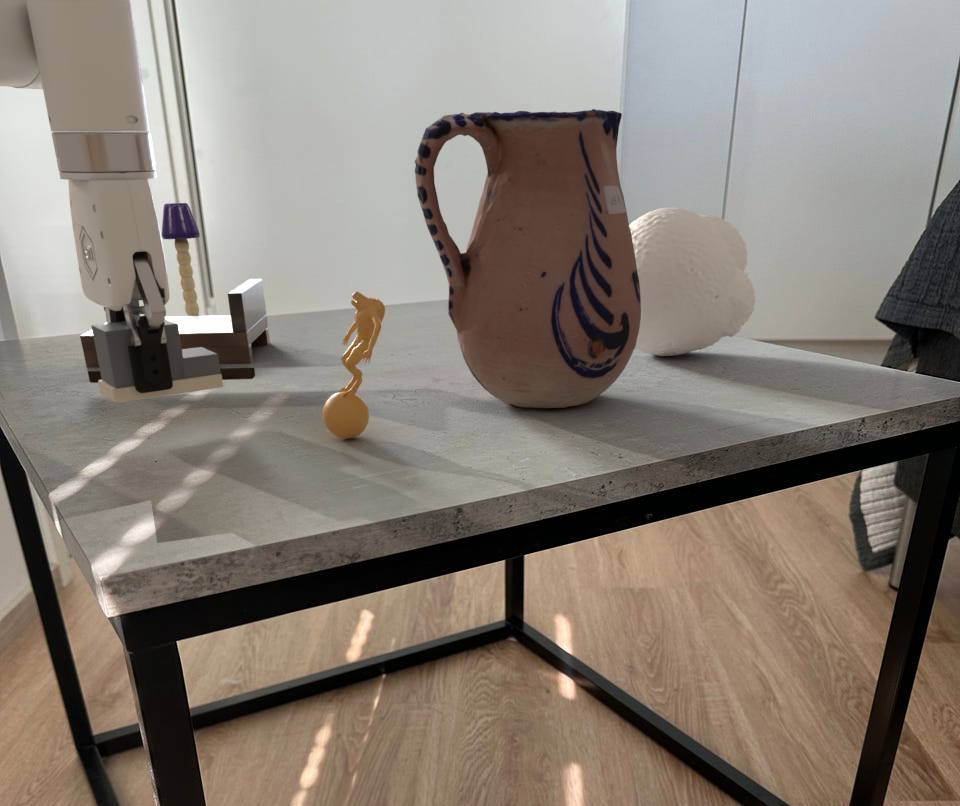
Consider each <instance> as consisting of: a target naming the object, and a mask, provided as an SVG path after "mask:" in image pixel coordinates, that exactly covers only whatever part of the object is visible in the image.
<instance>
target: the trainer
mask: <svg viewBox="0 0 960 806" xmlns="http://www.w3.org/2000/svg"><path fill="white" fill-rule="evenodd" d="M136 321H137V325H138V320H136ZM164 322H165V325H164V329H165V334H166V339H167V342H166V344H167V350H168V357H169V363H170V369H171V376H172V382H173V387H172V388H171V389H168V390H161V391H154V392H147V393H139V392H138V391H136V389H135V384H134V378H133V372H132V367H131V361H130V355H129V350H128V346H133V345H132V343H131V339H130V335H129V331H128V326H127V322H126V321H123V322H114V323H106V322H105V323H95V324H91V330H92V332H93V337H94V342H95V347H96V352H97V357H98V363H99V367H98V368H99V371H100V373H101V378H102V380H98V382H97V383H98V387H99V393H100V394H101V395H103V396H104V397H105V398H107V399H108V400H110V401H112V402H113V403H115V404H118V403H119V404H120V403H124V402H126V403H127V402H131V401H139V400H145V399H146V400H147V399H153V398H158V397H165V396H171V395H172V396H173V395H178V394H184V393H185V394H186V393H192V392H199V391H206V390H211V389H212V390H213V389H220V388H223V387H224V382H223V380H222V375H221V373H220V368H221V367H220V365H219V358H218V354H217V353H214V352H212V351H210V350H207V349H205V348H203V347H197V348H189V349H182V347H181V341H180V334H179V327H178V324H177V323H174V322H172V321H169V320H167V319H164Z"/></svg>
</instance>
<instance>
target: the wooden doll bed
mask: <svg viewBox="0 0 960 806" xmlns="http://www.w3.org/2000/svg"><path fill="white" fill-rule="evenodd" d="M227 299H228V301H227V302H228V306H229V307H228V308H229V314H221V315H217V314H215V315H199V316H188V315H180V316H179V315H173V316H171V315H169V316H165V319H167V320H169V321H172V322H174V323H177V324H178V327H179V334H180V341H181V347H182V349H189V348H197V347H203V348H205V349H207V350H210V351H212V352H214V353H217V354H218V358H219V365H221V366H222V365H251V364H252V363H253V362H254V356H253V355H254V354H253V348H252V347H262V346H263V347H265V346H267V347H268V346H269V345H270V344H271V342H270V341H271V340H270V332H269V325H268V324H269V323H268V316H267V308H266V299H265V291H264V282H263V278H249V279H248V280H246V281H245V282H243V283H242V284H240V285H238V286H237V287H235V288H234V289H233V290H230V291H229V292H228V293H227ZM105 323H107V321H106V322H105ZM79 338H80V342H81V348H82V351H83V357H84V361H85V367H86V368H99V363H98V357H97V352H96V347H95V342H94V337H93V332H92V329H90V330H89V331H87V332H85V333H83V334H81V335H80V336H79ZM255 370H256V369H255V367H220V373H221V375H222V381H223V380H253V379H254V378H255V377H256V372H255ZM87 375H88V380H89V383H98V380H102V378H101V373H100V370H87Z"/></svg>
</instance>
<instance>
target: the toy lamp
mask: <svg viewBox="0 0 960 806" xmlns="http://www.w3.org/2000/svg"><path fill="white" fill-rule="evenodd" d="M162 209H163V210H162V221H161V222H162V223H161V239H163V240H174V248H175V251H176V261H177V263H178V273H179V276H180V286H181V289H182V290H183V291H182V299H183V301H184V302H185V303H184V309H185V313H186V316H200V306H199V304H198V302H197V301H198V293H197V292H196V289H195V288H196V283H195V279H194V277H193V275H194V272H193V271H194V270H193V267H192V265H191V263H192V257H191V254H190V252H189V250H190V243H189V240H188V239H199V238H200V235H201V234H200V231H199V228H198V225H197V222H196V219H195V218H194V214H193V213H192V210H191V208H190V206H189V204H188V203H187V202H171V203H169V202H167V203H164V204H163V208H162Z"/></svg>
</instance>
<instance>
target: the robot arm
mask: <svg viewBox="0 0 960 806" xmlns="http://www.w3.org/2000/svg"><path fill="white" fill-rule="evenodd" d="M135 28H136V27H135V22H134V16H133V9H132V3H131V0H0V87H8V88H9V87H11V88H14V89H24V90H25V89H26V90H27V89H28V90H29V89H30V90H42V91H43V96H44V101H45V102H44V103H45V108H46V112H47V118H48V122H49V127H50V132H52V133H51V138H52V143H53V148H54V153H55V158H56V162H57V168H58V173H59V178H60V180H65V181H66V180H67V181H68V195H69V196H68V197H69V207H70V217H71V224H72V232H73V239H74V245H75V250H76V258H77V264H78V271H79V277H80V283H81V289H82V292H83V294H84V296H85V297H86V298H87V299H88V300H89V301H91V302H93V303H95V304H97V305H99V306H102V307H103V311H104V312H105V320H106V322H107V323H114V322H123V321H126V322H127V326H128V331H129V335H130V339H131V343H132V345H133V346H128V350H129V355H130V361H131V367H132V372H133V378H134V384H135V389H136V391H138V392H139V393H147V392H154V391H161V390H168V389H171V388H172V387H173V382H172V376H171V369H170V363H169V357H168V350H167V344H166V342H167V339H166V334H165V329H164V325H165V322H164V319H165V317H167V309H166V305H167V304H168V302H169V301H170V298H171V296H170V295H171V294H170V283H169V276H168V269H167V267H168V266H167V262H166V255H165V250H164V245H163V244H164V243H163V240H162V239H163V238H162V232H161V229H160V224H159V219H158V214H157V210H156V204H155V200H154V197H153V193H152V192H153V191H152V188H151V184H150V180H149V179H158V174H157V168H156V167H157V166H156V161H155V155H154V153H155V152H154V148H153V147H154V146H153V140H152V134H151V129H150V123H149V122H150V121H149V116H148V108H147V102H146V101H147V100H146V95H145V89H144V82H143V76H142V69H141V62H140V55H139V49H138V48H139V47H138V42H137V35H136V34H137V33H136V29H135ZM140 301H142V303H143V305H140ZM136 320H138V325H137V321H136Z"/></svg>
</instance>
